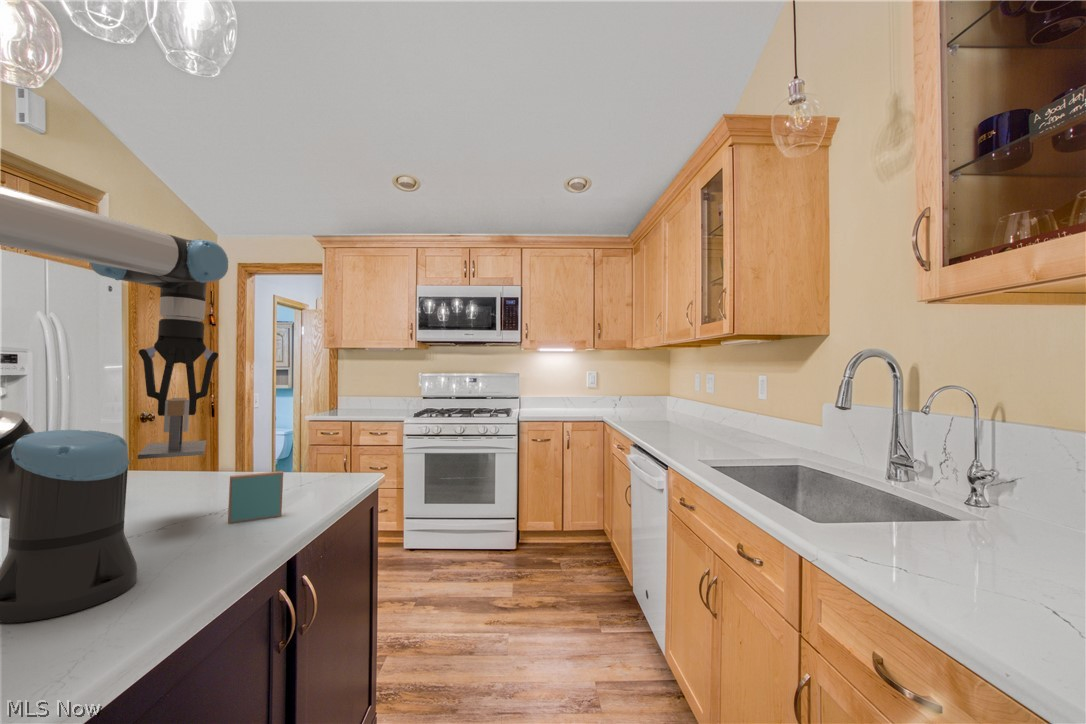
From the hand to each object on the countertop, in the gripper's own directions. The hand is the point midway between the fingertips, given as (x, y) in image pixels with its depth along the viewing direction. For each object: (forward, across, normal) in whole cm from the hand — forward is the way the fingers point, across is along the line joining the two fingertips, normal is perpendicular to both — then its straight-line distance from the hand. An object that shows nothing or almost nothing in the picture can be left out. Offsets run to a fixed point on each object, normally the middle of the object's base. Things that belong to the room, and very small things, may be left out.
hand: (176, 430), depth 94 cm
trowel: (+4, 0, 0) cm, 4 cm away
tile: (+20, -15, +3) cm, 25 cm away
